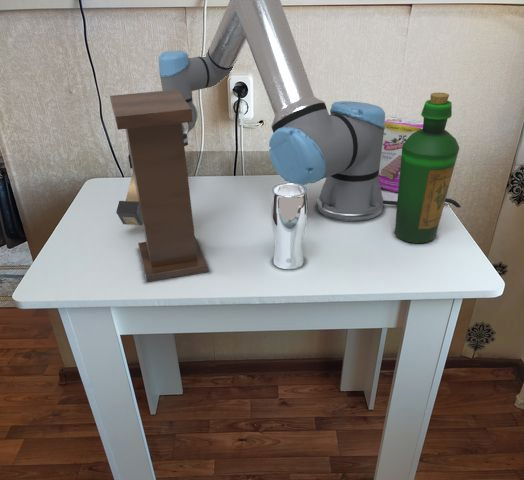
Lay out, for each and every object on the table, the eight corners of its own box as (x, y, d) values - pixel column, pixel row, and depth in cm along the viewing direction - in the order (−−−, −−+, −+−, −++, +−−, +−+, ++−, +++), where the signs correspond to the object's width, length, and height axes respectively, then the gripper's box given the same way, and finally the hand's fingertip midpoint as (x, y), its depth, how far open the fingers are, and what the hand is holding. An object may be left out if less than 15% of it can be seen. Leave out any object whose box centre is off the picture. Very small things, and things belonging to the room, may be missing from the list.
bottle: (441, 249, 106) (473, 103, 89) (389, 245, 108) (410, 101, 91) (438, 226, 114) (467, 88, 97) (389, 223, 116) (409, 87, 99)
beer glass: (264, 262, 104) (262, 190, 94) (286, 250, 108) (287, 179, 98) (290, 274, 100) (291, 200, 90) (312, 261, 104) (316, 188, 94)
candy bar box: (369, 188, 132) (377, 120, 122) (377, 181, 136) (385, 115, 125) (411, 196, 127) (423, 127, 117) (418, 189, 131) (430, 121, 120)
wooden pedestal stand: (139, 249, 109) (109, 95, 91) (195, 240, 112) (177, 89, 93) (147, 282, 99) (115, 116, 80) (208, 271, 101) (191, 108, 83)
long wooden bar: (143, 144, 120) (137, 130, 116) (161, 145, 119) (156, 130, 115) (123, 224, 112) (116, 212, 108) (142, 225, 112) (136, 213, 108)
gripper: (202, 146, 132) (176, 180, 114) (141, 144, 134) (107, 178, 116) (199, 114, 127) (172, 145, 109) (136, 113, 129) (100, 143, 111)
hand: (139, 162), depth 113 cm, fingers closed on long wooden bar, 3 cm apart
